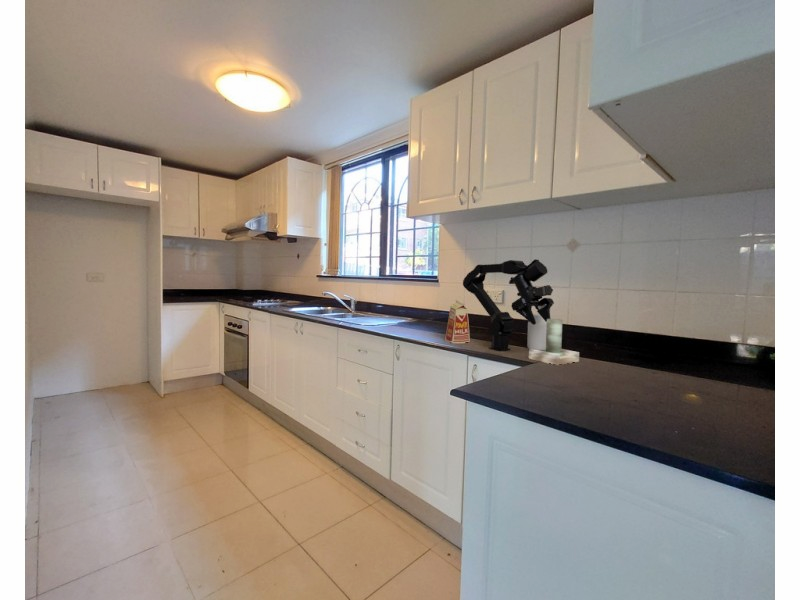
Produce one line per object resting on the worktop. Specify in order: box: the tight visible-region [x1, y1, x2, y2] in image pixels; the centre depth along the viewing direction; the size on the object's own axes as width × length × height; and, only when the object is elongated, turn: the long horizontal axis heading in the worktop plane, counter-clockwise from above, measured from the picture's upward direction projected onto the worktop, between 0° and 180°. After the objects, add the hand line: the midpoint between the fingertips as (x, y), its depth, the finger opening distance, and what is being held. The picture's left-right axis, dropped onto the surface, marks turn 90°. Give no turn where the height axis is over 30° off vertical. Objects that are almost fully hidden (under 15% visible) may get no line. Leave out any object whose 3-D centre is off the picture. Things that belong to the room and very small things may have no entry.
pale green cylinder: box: [542, 318, 564, 357], centre depth 125 cm, size 7×7×13 cm
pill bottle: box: [526, 313, 547, 351], centre depth 147 cm, size 8×8×15 cm
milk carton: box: [444, 299, 470, 344], centre depth 161 cm, size 9×9×20 cm
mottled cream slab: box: [528, 348, 580, 366], centre depth 125 cm, size 12×12×4 cm
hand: (542, 324), depth 127 cm, fingers open, 9 cm apart
